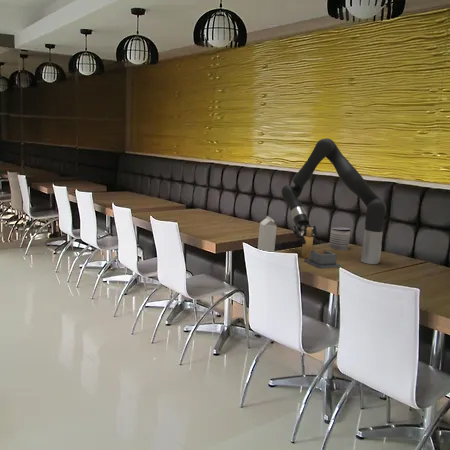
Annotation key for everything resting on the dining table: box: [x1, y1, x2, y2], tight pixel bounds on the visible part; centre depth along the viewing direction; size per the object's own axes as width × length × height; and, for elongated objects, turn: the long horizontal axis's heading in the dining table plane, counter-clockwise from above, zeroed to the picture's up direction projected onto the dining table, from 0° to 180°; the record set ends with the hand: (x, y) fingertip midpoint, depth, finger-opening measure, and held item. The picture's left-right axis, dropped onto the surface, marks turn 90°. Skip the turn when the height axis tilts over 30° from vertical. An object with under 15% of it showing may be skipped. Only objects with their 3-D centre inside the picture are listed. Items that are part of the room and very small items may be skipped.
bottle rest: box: [303, 249, 342, 269], centre depth 266 cm, size 13×13×6 cm
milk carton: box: [257, 215, 277, 253], centre depth 283 cm, size 7×7×19 cm
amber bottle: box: [300, 227, 314, 259], centre depth 278 cm, size 5×5×16 cm
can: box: [328, 227, 351, 251], centre depth 308 cm, size 11×11×12 cm
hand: (309, 243), depth 276 cm, fingers open, 6 cm apart
